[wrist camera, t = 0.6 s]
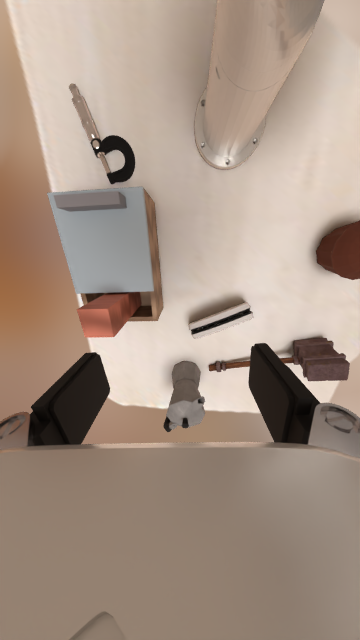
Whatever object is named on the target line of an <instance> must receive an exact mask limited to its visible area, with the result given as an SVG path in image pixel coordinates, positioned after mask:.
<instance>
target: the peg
mask: <svg viewBox="0 0 360 640" xmlns="http://www.w3.org/2000/svg"><path fill="white" fill-rule="evenodd" d="M141 304H142V302H141V295H140V292H112V293H106V294H104V295H102V296H100V297H99V298H97V299H95V300H93V301H91V302H90V303H88V304H86V305H84V306H82V307H80V308H79V309H77V312H78V315H79V318H80V322H81V325H82V328H83V331H84V335H85V337H114V336H115V335H116V334H117V333H118V332H119V331H120V329H121V328H122V327H123V326H124V325H125V323H126V322H127V321H128V320H129V319H130V317H131V316H132V315H133V314H134V313H135V311H136V310H137V309H138V308H139V307H140V306H141Z"/></svg>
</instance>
